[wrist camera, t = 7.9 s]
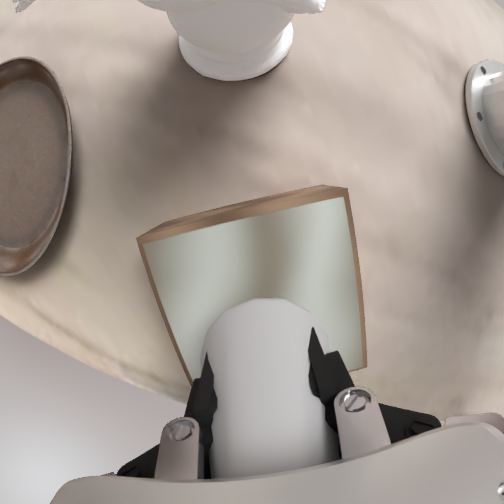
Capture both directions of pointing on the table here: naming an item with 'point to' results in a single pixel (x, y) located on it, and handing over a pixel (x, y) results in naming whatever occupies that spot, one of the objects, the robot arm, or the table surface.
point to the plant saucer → (31, 161)
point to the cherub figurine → (230, 33)
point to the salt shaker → (266, 391)
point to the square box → (260, 267)
